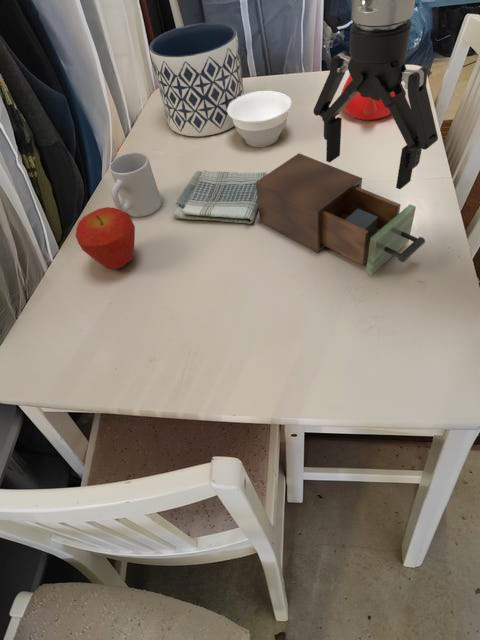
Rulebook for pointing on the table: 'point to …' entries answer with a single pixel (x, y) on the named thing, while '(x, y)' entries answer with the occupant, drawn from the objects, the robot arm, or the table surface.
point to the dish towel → (220, 197)
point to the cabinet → (301, 197)
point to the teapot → (365, 106)
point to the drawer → (354, 239)
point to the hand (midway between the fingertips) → (366, 171)
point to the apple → (107, 236)
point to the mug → (134, 185)
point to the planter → (198, 76)
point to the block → (364, 221)
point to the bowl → (260, 116)
